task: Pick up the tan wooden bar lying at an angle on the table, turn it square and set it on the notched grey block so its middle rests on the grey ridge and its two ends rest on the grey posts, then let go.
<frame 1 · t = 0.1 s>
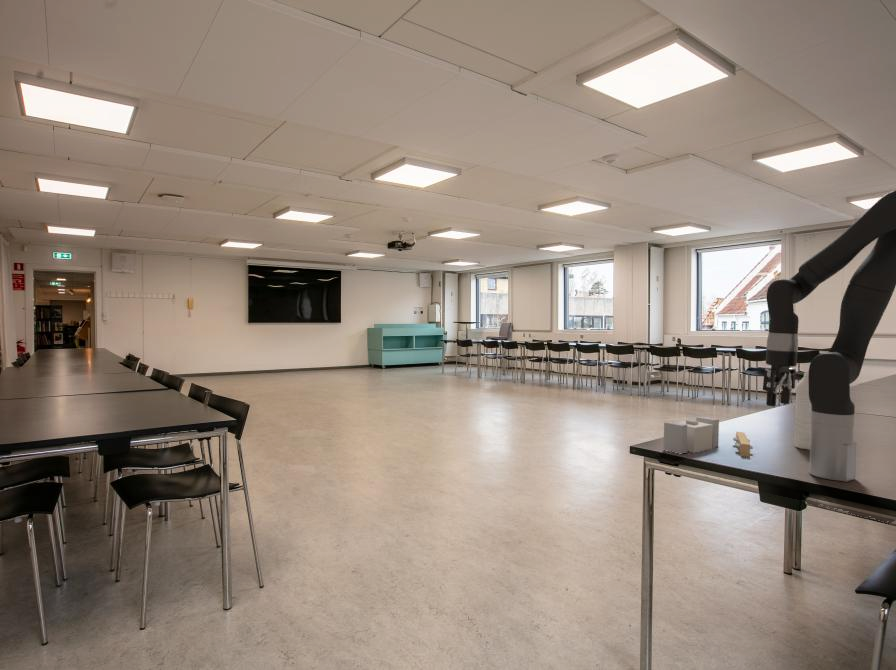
hand: (777, 404, 148), 17 cm above the table, tool pointing down, fingers open, 8 cm apart
notched grey block: (691, 448, 166), on the table
tan wooden bar: (742, 450, 166), on the table
water bottle: (808, 447, 170), on the table
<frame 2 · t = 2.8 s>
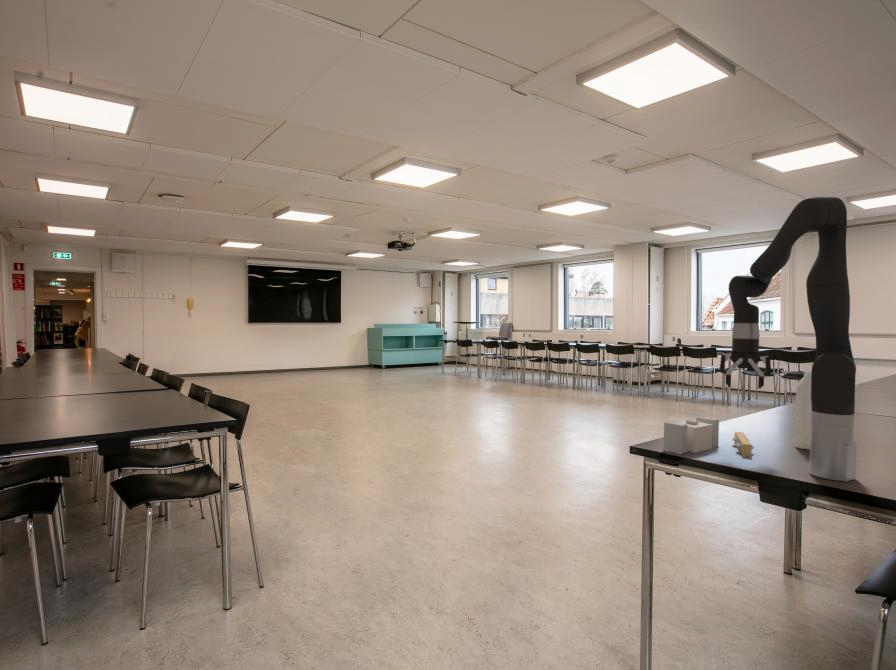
hand: (744, 387, 165), 20 cm above the table, tool pointing down, fingers open, 8 cm apart
nothing on the table moved.
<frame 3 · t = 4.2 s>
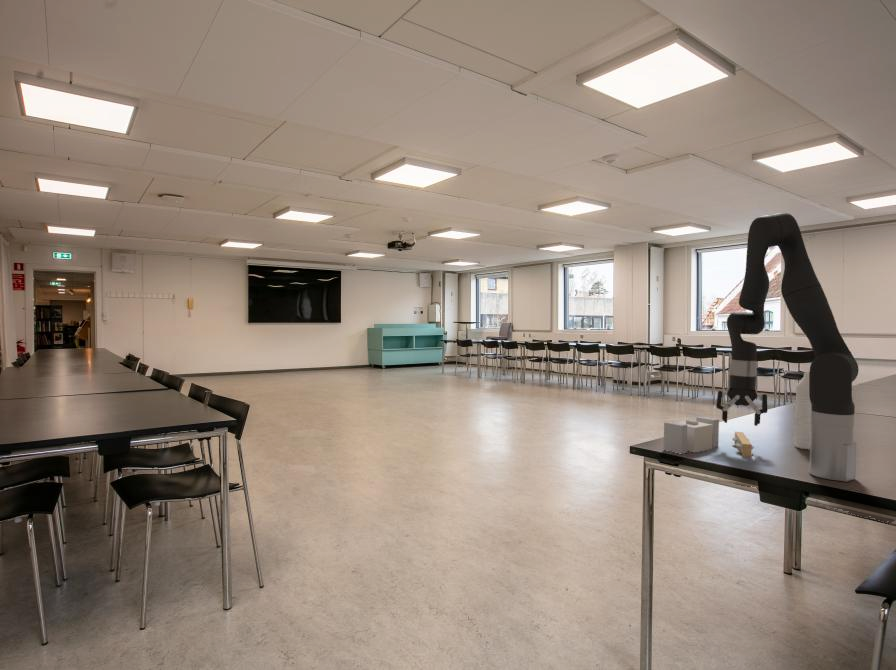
hand: (740, 423, 166), 8 cm above the table, tool pointing down, fingers open, 8 cm apart
nothing on the table moved.
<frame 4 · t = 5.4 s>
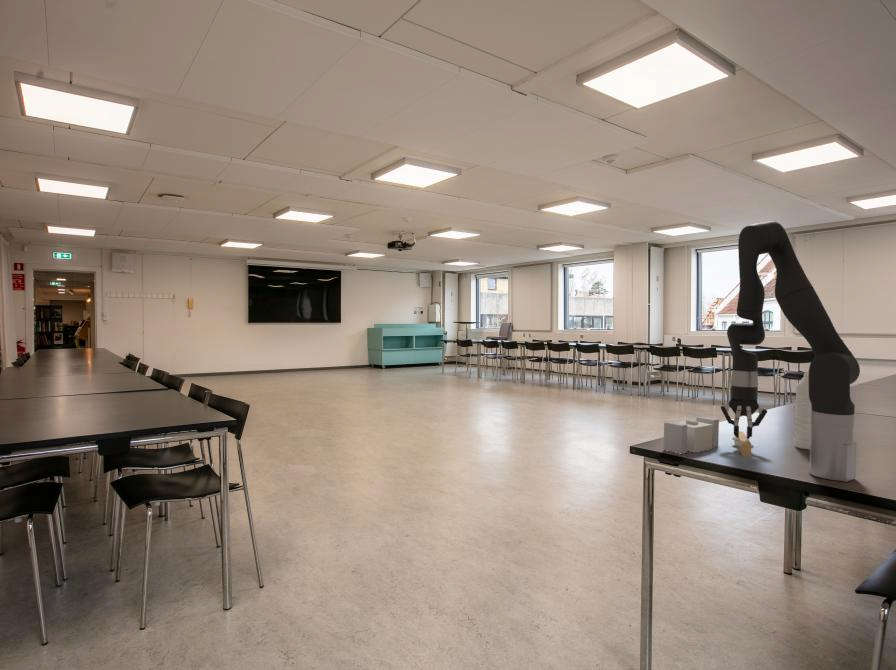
hand: (742, 437, 166), 4 cm above the table, tool pointing down, fingers closed on tan wooden bar, 2 cm apart
tan wooden bar: (742, 449, 166), on the table, touching gripper
everything else where it was.
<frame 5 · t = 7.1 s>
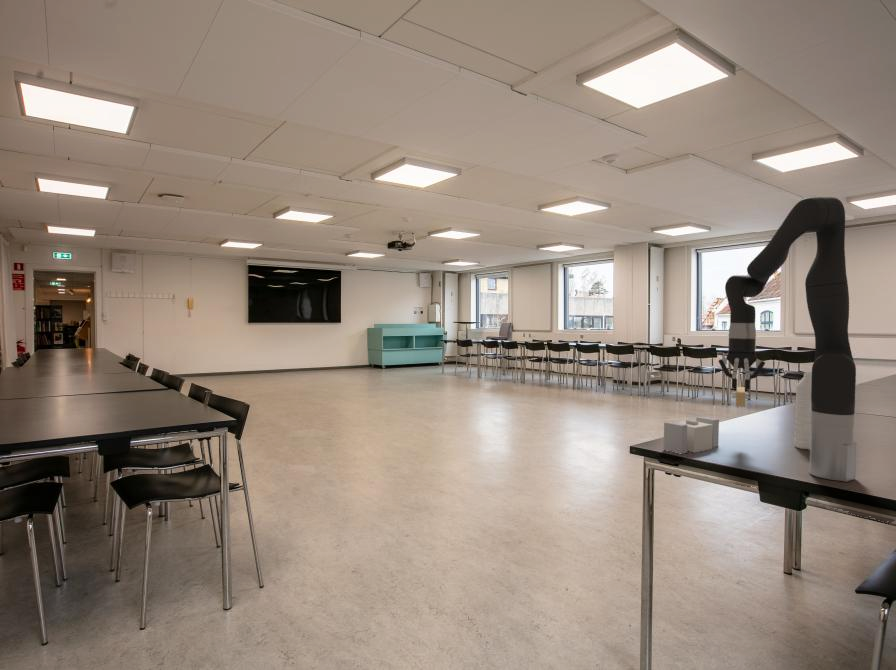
hand: (740, 390, 166), 19 cm above the table, tool pointing down, fingers closed on tan wooden bar, 2 cm apart
tan wooden bar: (740, 402, 166), point 15 cm above the table, touching gripper
everything else where it was.
when the fingers open (14 cm above the table, at t = 9.1 s): tan wooden bar drops 1 cm, resting on notched grey block.
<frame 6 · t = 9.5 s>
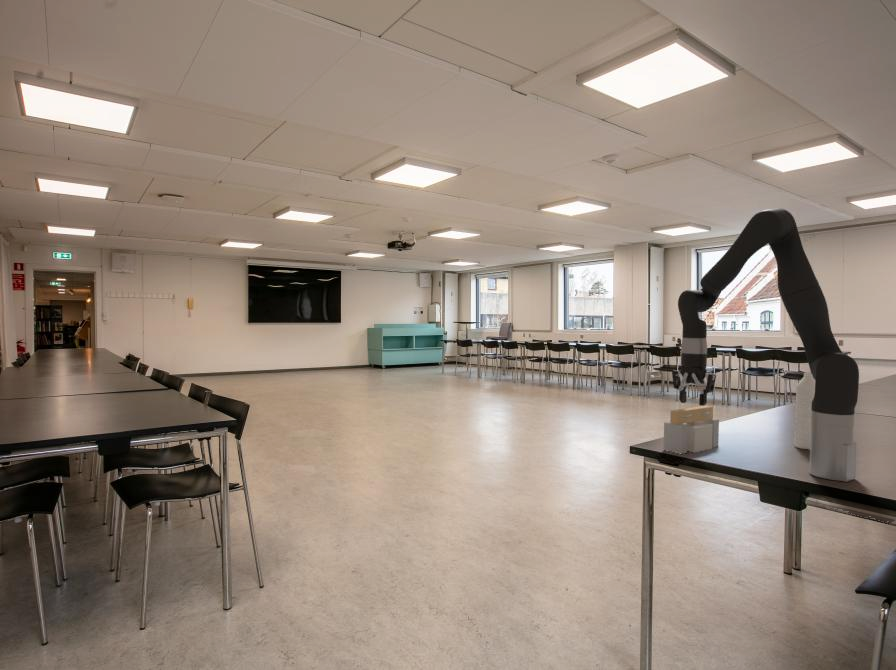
hand: (692, 403, 166), 15 cm above the table, tool pointing down, fingers open, 6 cm apart
tan wooden bar: (692, 420, 166), point 9 cm above the table, touching notched grey block
everything else where it was.
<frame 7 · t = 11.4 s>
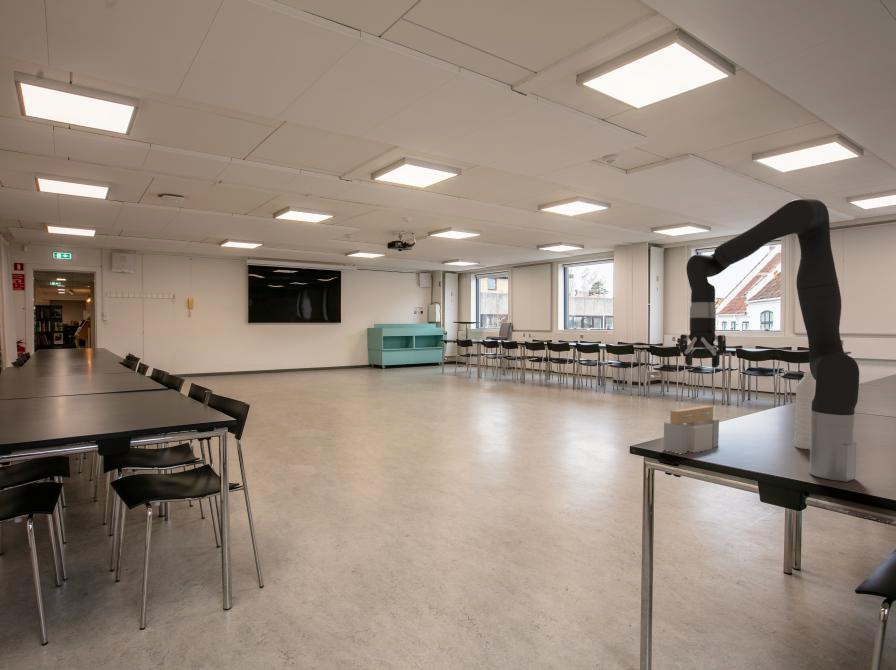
hand: (701, 366, 166), 27 cm above the table, tool pointing down, fingers open, 8 cm apart
nothing on the table moved.
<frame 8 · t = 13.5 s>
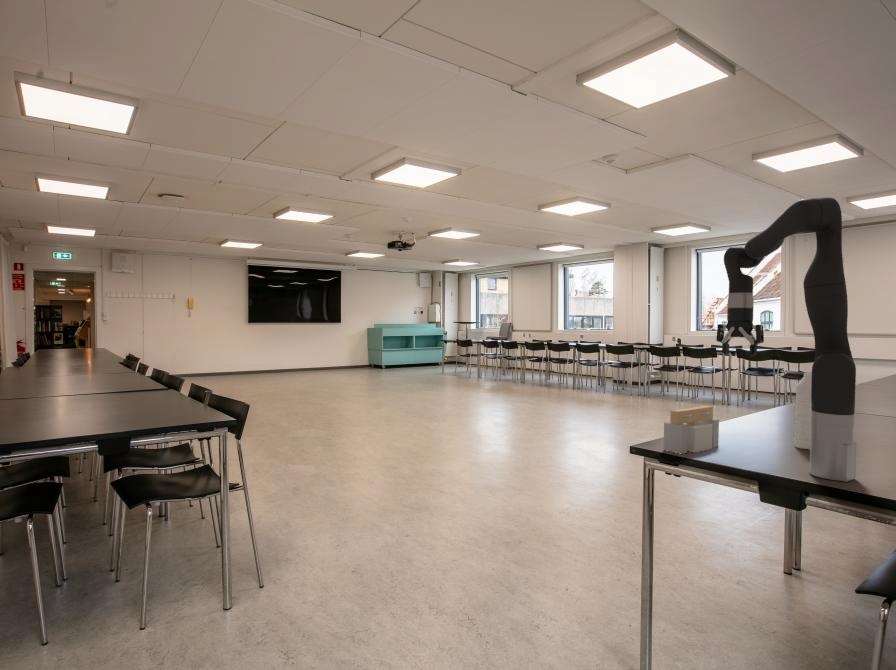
hand: (738, 355, 171), 30 cm above the table, tool pointing down, fingers open, 8 cm apart
nothing on the table moved.
at the end: tan wooden bar 0.1 cm off-centre on the notched grey block, point 9.0 cm above the notched grey block's base; tan wooden bar tilted 0°; the gripper is holding nothing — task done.
